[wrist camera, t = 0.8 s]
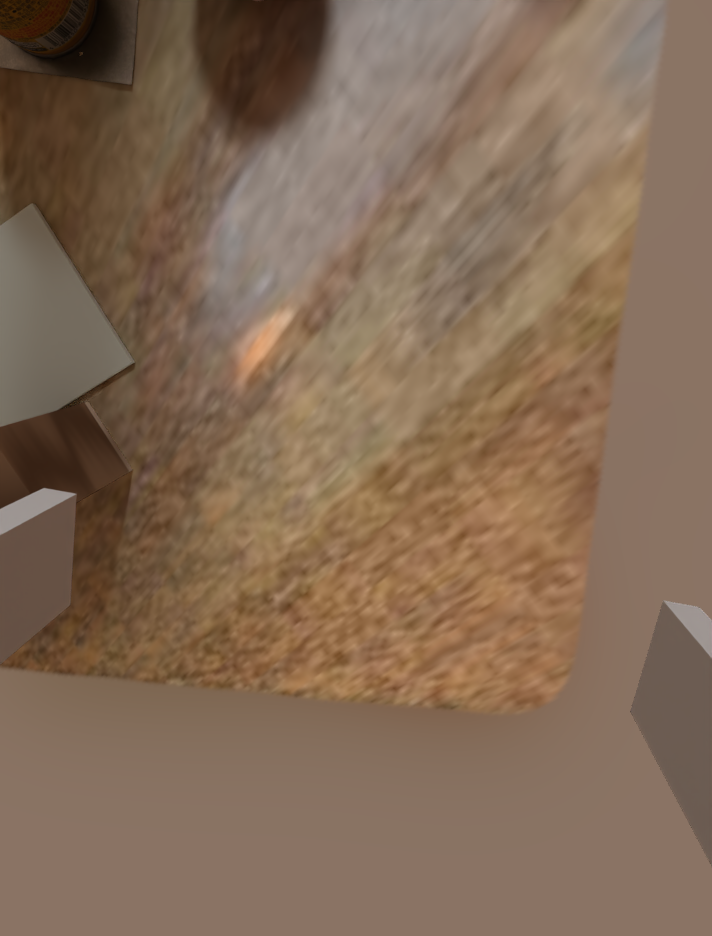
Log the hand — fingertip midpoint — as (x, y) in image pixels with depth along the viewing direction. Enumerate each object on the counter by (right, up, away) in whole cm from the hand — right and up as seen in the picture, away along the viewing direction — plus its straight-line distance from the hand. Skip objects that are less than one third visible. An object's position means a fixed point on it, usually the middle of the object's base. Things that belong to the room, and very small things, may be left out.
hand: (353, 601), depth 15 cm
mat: (-22, +11, +26) cm, 36 cm away
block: (-18, +4, +27) cm, 33 cm away
